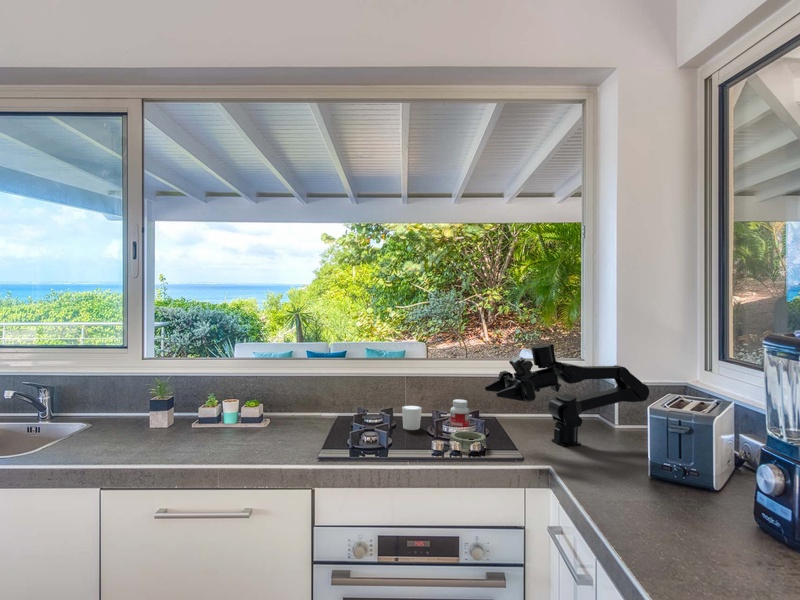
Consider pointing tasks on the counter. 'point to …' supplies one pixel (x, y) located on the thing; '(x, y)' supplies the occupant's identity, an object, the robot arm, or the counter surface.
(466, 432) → the ring holder
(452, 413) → the pill bottle
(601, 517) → the counter surface
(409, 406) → the white cup
